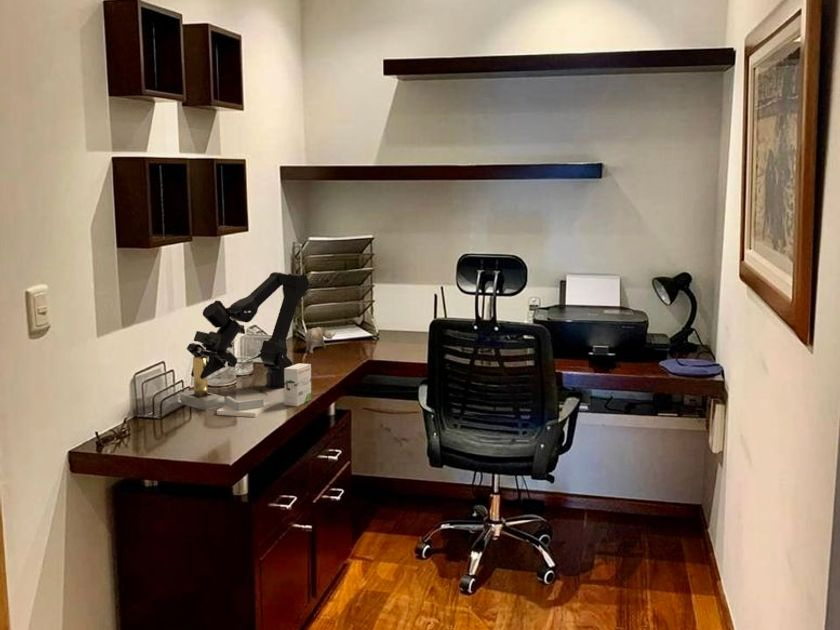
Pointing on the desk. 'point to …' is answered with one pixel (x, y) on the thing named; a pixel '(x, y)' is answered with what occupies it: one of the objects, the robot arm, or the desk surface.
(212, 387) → the desk surface
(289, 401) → the ink box
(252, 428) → the desk surface
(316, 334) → the elephant figurine
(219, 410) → the v block
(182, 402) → the grey socket block
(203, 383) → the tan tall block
